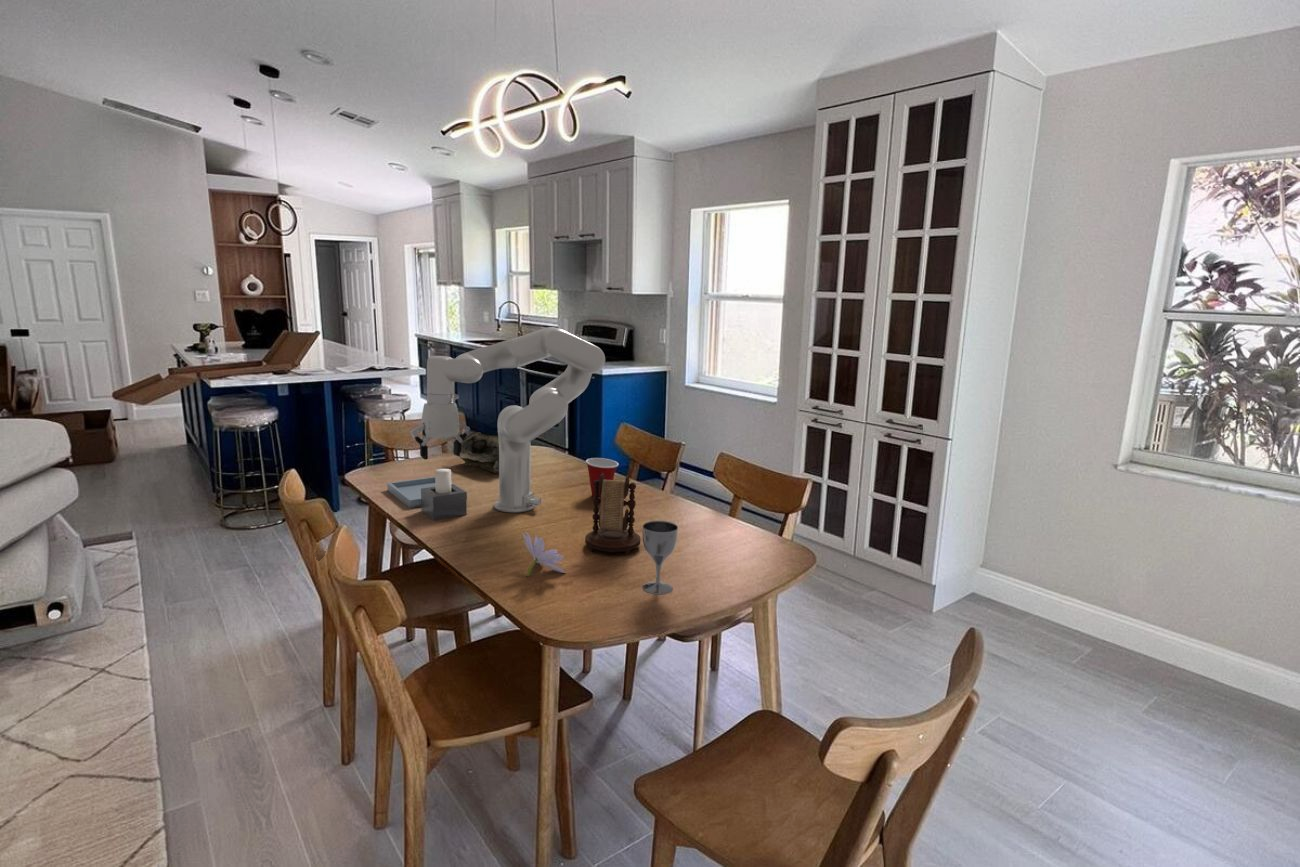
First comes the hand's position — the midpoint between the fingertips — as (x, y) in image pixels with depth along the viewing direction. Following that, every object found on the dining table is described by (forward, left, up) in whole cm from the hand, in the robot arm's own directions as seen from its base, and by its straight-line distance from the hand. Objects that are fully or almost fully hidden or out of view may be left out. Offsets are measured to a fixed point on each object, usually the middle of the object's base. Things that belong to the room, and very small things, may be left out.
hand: (440, 456), depth 202 cm
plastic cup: (-36, -36, -17) cm, 54 cm away
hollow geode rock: (+16, -48, -18) cm, 54 cm away
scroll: (-56, +5, -18) cm, 59 cm away
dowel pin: (0, 0, -16) cm, 16 cm away
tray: (+15, -13, -17) cm, 26 cm away
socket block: (0, 0, -17) cm, 17 cm away
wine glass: (-75, +25, -17) cm, 81 cm away
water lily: (-47, +27, -18) cm, 57 cm away
